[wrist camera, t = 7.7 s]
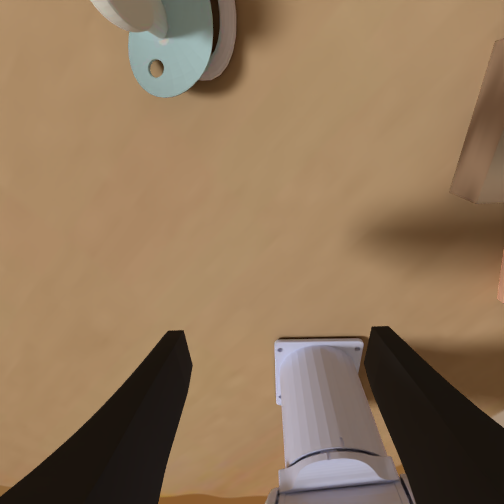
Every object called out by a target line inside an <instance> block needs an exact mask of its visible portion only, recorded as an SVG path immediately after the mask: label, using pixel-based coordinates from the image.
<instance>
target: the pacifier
mask: <svg viewBox="0 0 504 504" xmlns="http://www.w3.org/2000/svg"><path fill="white" fill-rule="evenodd" d="M91 2H92V3H93V5H94V6H95V7H96V8H97V10H98V11H99V12H100V13H101V14H102V15H103V16H104V17H105V18H106V19H108V20H109V21H110V22H111V23H113V24H114V25H116V26H118V27H119V28H121V29H124V30H127V31H130V32H129V43H128V49H129V59H130V64H131V68H132V71H133V73H134V76H135V78H136V79H137V81H138V83H139V84H140V85H141V86H142V88H143V89H144V90H146V91H147V92H148V93H150V94H152V95H154V96H157V97H164V98H167V97H174V96H177V95H180V94H182V93H184V92H186V91H187V90H189V89H190V88H191V87H192V86H193V85H194V84H195V83H196V82H197V81H198V80H201V81H202V80H212V79H214V78H216V77H218V76H220V75H221V74H222V72H223V71H224V70H225V68H226V67H227V66H228V64H229V61H230V59H231V56H232V54H233V50H234V44H235V38H236V7H235V0H218V5H219V11H220V30H219V38H218V42H217V45H216V48H215V51H214V52H213V54H212V55H211V51H212V43H213V18H212V10H211V4H210V0H91ZM210 55H211V57H210ZM155 60H160V61H161V62H162V63H163V65H164V72H163V74H162V75H161V76H160V77H158V78H155V77H153V76H152V74H151V72H150V66H151V64H152V62H153V61H155Z"/></svg>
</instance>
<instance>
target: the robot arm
mask: <svg viewBox="0 0 504 504" xmlns="http://www.w3.org/2000/svg"><path fill="white" fill-rule="evenodd" d="M363 346H364V343H363V341H362V339H359V338H343V339H279V340H276V341H275V376H276V403H277V404H278V405H282V419H283V436H284V452H285V469H280V470H279V487H278V488H273V489H272V490H271V491H270V493H269V495H268V499H267V500H266V502H265V504H504V428H503V427H502V426H501V425H499V424H498V423H497V422H495V421H494V420H493V419H492V418H490V417H489V416H488V415H487V414H485V413H484V412H483V411H482V410H480V409H479V408H478V407H477V406H476V405H474V404H473V403H472V402H471V401H470V400H468V399H467V398H466V397H465V396H464V395H462V394H461V393H460V392H459V391H458V390H457V389H455V388H454V387H453V386H452V385H451V384H450V383H449V382H447V381H446V380H445V379H444V378H443V377H442V376H441V375H440V374H439V373H437V372H436V371H435V370H434V369H433V368H432V367H431V366H430V365H429V364H428V363H427V362H426V361H424V360H423V359H422V358H421V357H420V356H419V355H418V354H417V353H416V352H415V351H414V350H413V349H412V348H411V347H410V346H409V345H408V344H407V343H406V342H405V341H403V340H402V339H401V338H400V337H399V336H398V335H397V334H396V333H395V332H394V331H393V330H392V329H391V328H390V327H389V326H378V327H372V328H371V333H370V338H369V342H368V347H367V351H366V356H365V360H364V365H365V369H366V373H367V376H368V380H369V383H370V386H371V389H372V392H373V395H374V397H375V400H376V402H377V405H378V407H379V409H380V412H381V414H382V417H383V419H384V421H385V424H386V426H387V429H388V431H389V433H390V436H391V438H392V441H393V443H394V445H395V448H396V450H397V452H398V455H399V457H400V460H401V462H402V465H403V467H404V470H405V473H406V474H400V478H399V476H398V473H397V470H396V468H395V465H394V462H393V460H392V457H391V456H387V453H386V450H385V448H384V445H383V442H382V439H381V437H380V434H379V431H378V428H377V426H376V423H375V420H374V417H373V414H372V412H371V409H370V406H369V403H368V401H367V398H366V395H365V392H364V390H363V387H362V384H361V381H360V378H359V376H358V372H359V367H360V361H361V356H362V351H363ZM356 347H357V348H356ZM279 348H281V349H279ZM192 366H193V365H192V361H191V357H190V353H189V350H188V346H187V342H186V338H185V334H184V330H178V331H168V332H167V333H166V334H165V335H164V336H163V337H162V339H161V340H160V341H159V342H158V344H157V345H156V346H155V347H154V348H153V350H152V351H151V352H150V353H149V355H148V356H147V357H146V358H145V359H144V361H143V362H142V363H141V364H140V365H139V366H138V368H137V369H136V370H135V371H134V372H133V373H132V375H131V376H130V377H129V378H128V379H127V380H126V381H125V383H124V384H123V385H122V386H121V387H120V388H119V389H118V390H117V391H116V392H115V393H114V394H113V395H112V397H111V398H110V399H109V400H108V401H107V402H106V403H105V404H104V405H103V406H102V407H101V408H100V409H99V410H98V411H97V412H96V413H95V414H94V415H93V416H92V417H91V418H90V419H89V420H88V421H87V422H86V423H85V424H84V425H83V426H82V427H81V428H80V429H79V430H78V431H77V432H76V433H75V434H74V435H72V436H71V437H70V438H69V439H68V440H67V441H66V442H65V443H64V444H62V445H61V446H60V447H59V448H58V449H57V450H56V451H55V452H54V453H52V454H51V455H50V456H49V457H48V458H47V459H46V460H44V461H43V462H42V463H41V464H40V465H39V466H37V467H36V468H35V469H34V470H33V471H32V472H30V473H29V474H28V475H27V476H25V477H24V478H23V479H22V480H20V481H19V482H18V483H17V484H15V485H14V486H13V487H12V488H11V489H9V490H8V491H7V492H6V493H5V494H3V495H2V496H1V497H0V504H158V501H159V497H160V492H161V487H162V482H163V478H164V473H165V469H166V465H167V461H168V458H169V454H170V451H171V447H172V444H173V441H174V437H175V434H176V431H177V427H178V424H179V421H180V417H181V414H182V410H183V407H184V404H185V400H186V397H187V393H188V388H189V383H190V377H191V371H192Z"/></svg>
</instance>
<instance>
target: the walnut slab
mask: <svg viewBox="0 0 504 504" xmlns="http://www.w3.org/2000/svg"><path fill="white" fill-rule="evenodd" d="M449 192H450V193H452V194H455V195H457V196H459V197H462V198H464V199H466V200H469V201H471V202H473V203H476V204H485V203H504V39H500V40H497V41H495V43H494V47H493V50H492V53H491V56H490V60H489V63H488V66H487V70H486V73H485V76H484V79H483V83H482V86H481V89H480V92H479V96H478V99H477V102H476V106H475V109H474V112H473V115H472V119H471V122H470V125H469V128H468V132H467V135H466V138H465V142H464V145H463V148H462V151H461V155H460V158H459V161H458V165H457V168H456V171H455V174H454V178H453V181H452V184H451V187H450V191H449Z"/></svg>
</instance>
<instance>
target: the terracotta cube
mask: <svg viewBox="0 0 504 504" xmlns="http://www.w3.org/2000/svg"><path fill="white" fill-rule="evenodd" d="M497 299H498V300H500V301H501V302H502V303H503V304H504V249H503V257H502V264H501V272H500V280H499V288H498V295H497Z"/></svg>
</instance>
